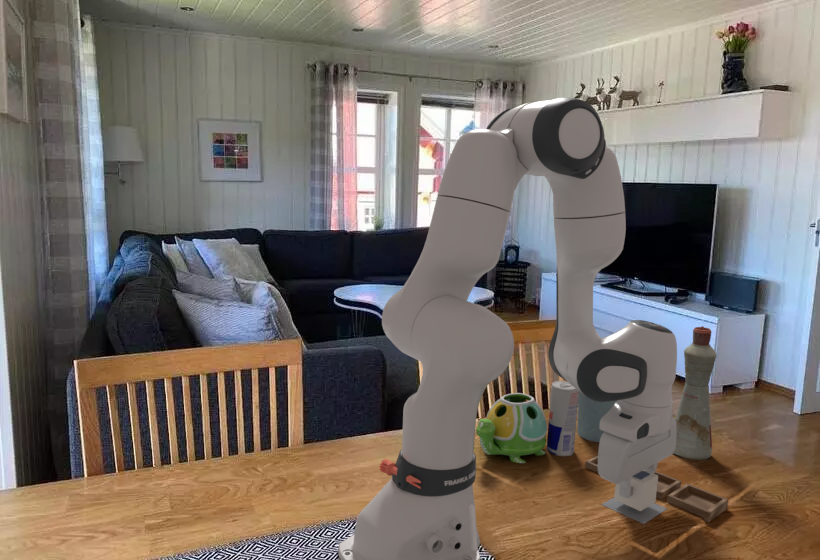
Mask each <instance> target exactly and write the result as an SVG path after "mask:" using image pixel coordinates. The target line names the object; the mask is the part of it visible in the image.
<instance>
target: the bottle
mask: <svg viewBox="0 0 820 560" xmlns="http://www.w3.org/2000/svg"><path fill="white" fill-rule="evenodd" d="M711 338H712V330H711V328H708V327H704V326H703V325H702V326H697V327H694V328H693V329H692V342H691V344H689V345H688V346H686V347H685V349H684V350H683V357H684V373H685V375H684V377H685V378H684V379H685V382H684V386H683V389H682V394H681V398H680V401H679V405H678V408H677V410H676V414H675V417H674V418H675V420H676V447H675V450H674V453H673V455H676V456H678V457H680V458H684V459H688V460H689V459H690V460H695V461H697V460H698V461H701V460H708V459H709V458H710V457H711V456H712V453H713V439H712V438H713V437H712V423H711V408H710V407H711V406H710V404H711V403H710V385H709V384H710V381H711V376H712V374H713V370H714V367H715V362H716V359H717V353H716V351H715V349H714V348H713V347H712V346H711V344H710V342H711Z"/></svg>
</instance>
